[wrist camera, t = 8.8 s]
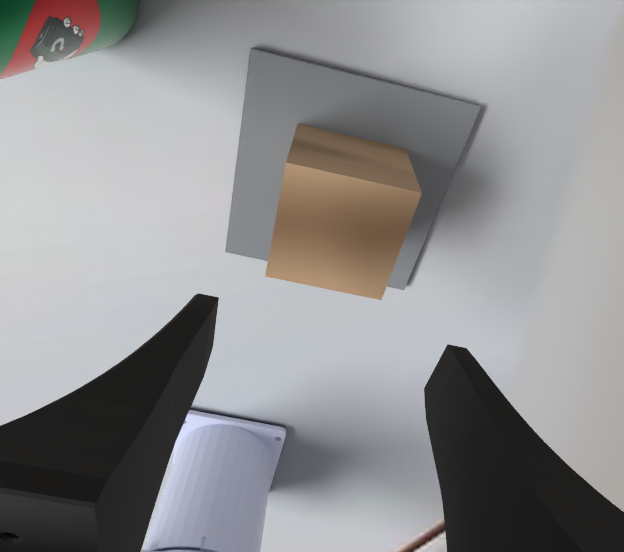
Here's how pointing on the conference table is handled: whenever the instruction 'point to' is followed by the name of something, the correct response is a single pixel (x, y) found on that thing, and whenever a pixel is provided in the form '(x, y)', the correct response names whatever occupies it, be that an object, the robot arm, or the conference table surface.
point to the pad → (346, 120)
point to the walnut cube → (342, 212)
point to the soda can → (58, 30)
